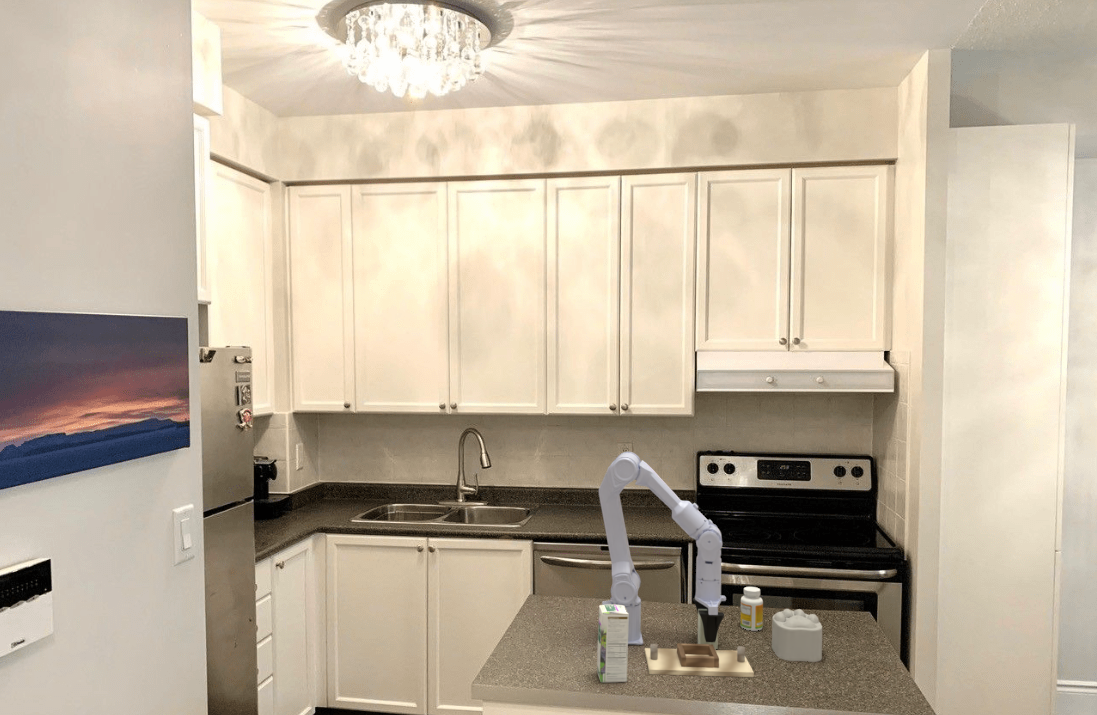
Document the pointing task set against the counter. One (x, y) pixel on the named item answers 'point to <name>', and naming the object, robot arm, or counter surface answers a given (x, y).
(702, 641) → the sage peg
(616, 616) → the syrup box
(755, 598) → the supplement bottle
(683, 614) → the counter surface
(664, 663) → the socket plate
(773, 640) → the lumpy-topped squat cylinder
